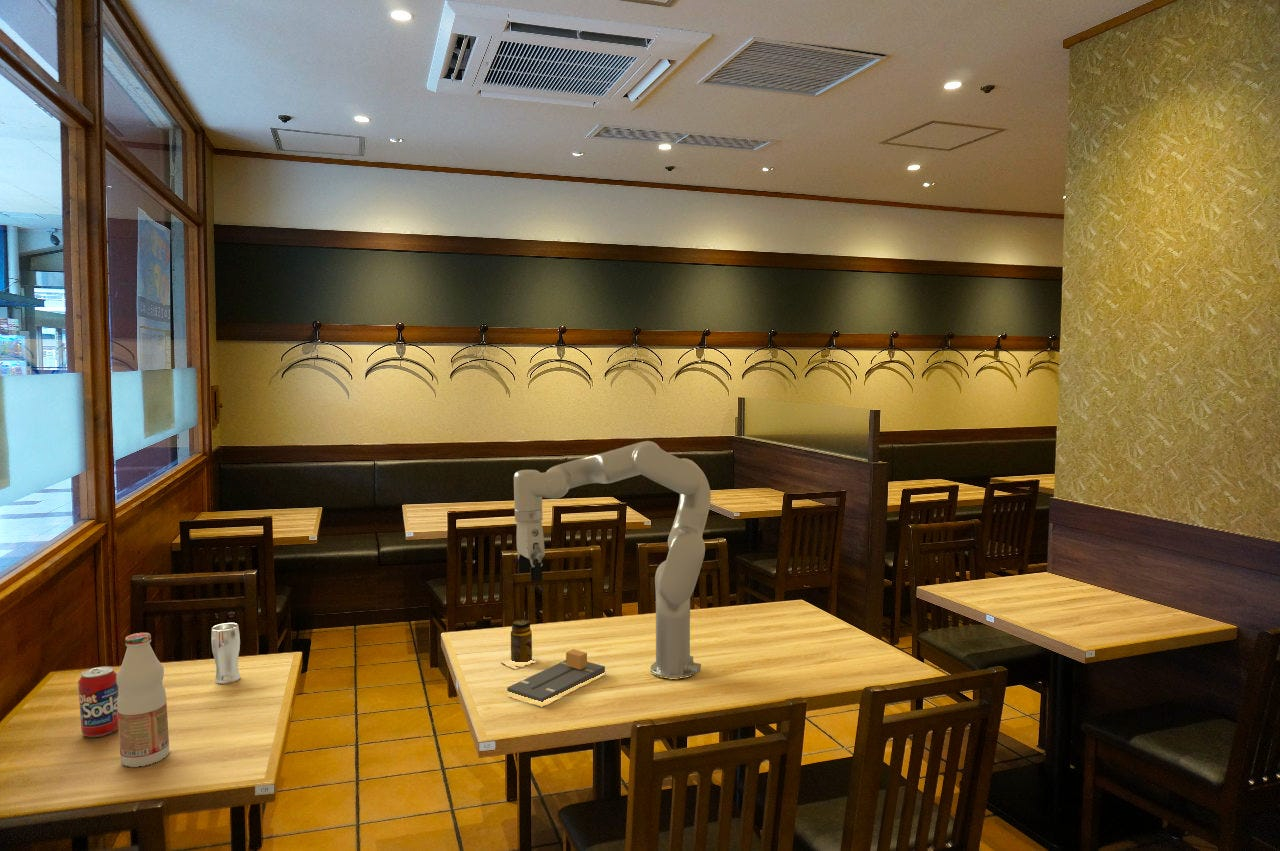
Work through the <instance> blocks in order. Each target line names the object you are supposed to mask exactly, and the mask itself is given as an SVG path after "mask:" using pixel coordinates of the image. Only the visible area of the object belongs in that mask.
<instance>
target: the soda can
mask: <svg viewBox="0 0 1280 851" xmlns="http://www.w3.org/2000/svg"><path fill="white" fill-rule="evenodd" d="M80 675H81V676H80V677H79V679H78V681H77V684H78V686H77V687H78V688H77V689H78V699H79V702H78V703H79V713H80V714H79V715H80V727H81V734H82V735H83V736H86V737H89V738H99V737H100V738H101V737H106V736H108V735H110V734H112V733H114V732H115V731H116V730H119V727H118V712H117V699H118V695H119V688H118V686H117V682H116V675H117V672H116V671H115V669H114V667H113V666H110V665H109V666H108V665H104V666H97V667H91V668H89V669H86V670H84V671H82V672H81V674H80Z"/></svg>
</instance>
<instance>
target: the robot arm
mask: <svg viewBox="0 0 1280 851" xmlns="http://www.w3.org/2000/svg"><path fill="white" fill-rule="evenodd" d="M640 475H642V476H644V477H645V478H648V479H649V480H650V481H653V482H654V483H657V484H658V485H661V486H664V488H665V487H666V488H668V489H669V490H671V491H673V492H675V493H678V494H679V501H678V506H677V510H676V514H675V517H674V520H673V523H672V526H671V530H670V531H669V534H668V536H667V537H668V538H667V547H668V552H667V556H666V559H665V560H664V561H662V562H661V563H660V564H659V565H658V567H657V568H656V571H655V576H654V586H655V589H654V590H655V662H653V663H652V664H651V665H650V669H651V671H650V673H651V672H652V673H654V674H656V675H658V676H662V677H667V678H680V677H686V676H690V675H692V674H693V673H694V674H698V675H699V674H700V673H701V667H702V664H701V663H698V662H695V661H694V656H693V655H691V597H692V595H693V592H694V590H695V588H696V584H697V582H698V578H699V575H700V572H701V568H702V566H703V565H702V564H703V562H704V559H705V552H706V545H705V541H704V539H703V534H704V531H705V527H706V524H707V519H708V515H709V511H710V507H711V501H712V499H711V498H712V496H711V495H712V494H711V488H710V484H709V481H708V479H707V477H706V474H705V473H704V471H703V470H702V469H701V468H700V467H699V465H698V464H696V462H694V461H693V460H691V459H688V458H686V457H685V458H684V457H683V458H680V457H677V456H675V455H673V454H671V453H669V452H668V451H665V450H664V449H662V448H661V447H660V445H658V444H657V443H656V442H654V441H650V440H645V441H640V442H636V443H633V444H629V445H626V446H623V447H619V448H616V449H612V450H608V451H605V452H602V453H597V454H594V455H591V456H587V457H582V458H577V459H575V460H570V461H567V462H564V463H560V464H557V465H554V466H552V467H550V468H549V469H547V470H546V472H540V471H539V470H537V469H521V470H518V471H516V472H515V473H514V475H513V498H514V502H513V503H514V522H515V523H516V551H517V556H516V557H517V572H518V574H525V573H529V574H530V576H529V578H530V582H532V583H535V582H541V581H543V558H544V557H545V554H546V553H545V552H546V551H545V538H544V537H545V536H544V530H543V524H542V521H543V498H547V499H560V498H562V497H564V496H565V495H566V494H567V493H568V492H569V490H570V489H573V488H577V487H580V486H585V485H589V484H604V485H605V484H612V483H615V482H619V481H622V480H626V479H629V478H633V477H636V476H640ZM650 669H649V670H650ZM652 673H651V674H652ZM694 674H693V675H694ZM693 675H692V676H693ZM690 677H691V676H690Z"/></svg>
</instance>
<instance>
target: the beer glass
mask: <svg viewBox="0 0 1280 851" xmlns="http://www.w3.org/2000/svg"><path fill="white" fill-rule="evenodd" d="M240 645H241V639H240V628H239V624H238V623H235V622H226V623H219V624H216V625H214V626H213V627H211V651H212V655H213V659H214V662H215V668H216V673H215V681H214V682H215V684H218V683H219V685H228V684H232V683H231V682H233V683H235V682H237V681H239V680H240V679H241V676H240V672H239V655H240V647H241V646H240ZM238 679H239V680H238ZM234 681H235V682H234ZM220 683H221V684H220ZM227 683H228V684H227Z"/></svg>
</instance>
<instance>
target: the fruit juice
mask: <svg viewBox="0 0 1280 851" xmlns="http://www.w3.org/2000/svg"><path fill="white" fill-rule="evenodd" d="M151 642H152V635H151V633H149V632H136V633H133V634H129V635H127V636H126V637H125V638H124V643H125V646H126V651H125V653H124V657H123V659H122V664H121V665H120V667H119V668H118V670H117V672H116V673H117V675H116V682H117V686H118V690H119V695H118V699H117V712H118V727H119V728H118V739H119V740H118V741H119V755H120V762H121V764H122V765H123V766H124V765H125V767H127V766H129V768H140V767H139V766H142V767H146V766H145V765H147V766H149V764H150V765H154V764H156V763H158V762H161V761H162V760H163V758H164V759H165V758H166V757H167V756H168V754H169V752H170V737H169V723H168V722H169V721H168V705H167V701H168V700H167V692H166V689H165V686H164V685H163V681H164V676H165V670H164V666H163V664H162V662H160V660H159V659H158V657H157V656H156V654H155V652H154V650H153V648H152V646H151ZM155 762H156V763H155ZM153 763H154V764H153Z"/></svg>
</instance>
